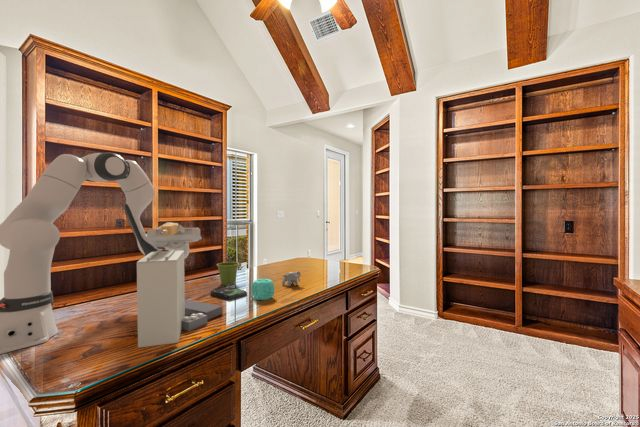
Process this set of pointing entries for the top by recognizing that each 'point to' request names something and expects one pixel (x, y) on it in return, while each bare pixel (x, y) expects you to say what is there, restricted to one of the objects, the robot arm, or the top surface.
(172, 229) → the long orange square stick
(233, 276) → the plant pot
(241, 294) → the disk drive
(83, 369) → the top surface
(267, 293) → the decorative dice
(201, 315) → the switch box
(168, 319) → the slotted cream upright block
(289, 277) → the gray elephant figurine
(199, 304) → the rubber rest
